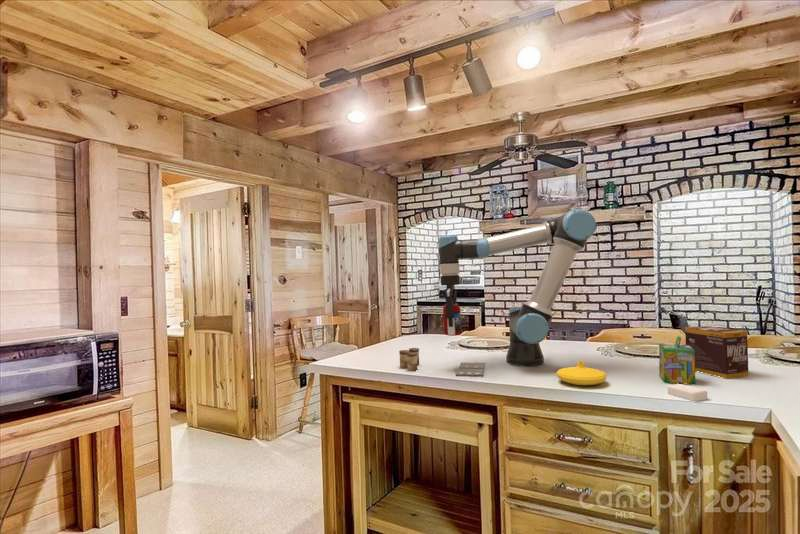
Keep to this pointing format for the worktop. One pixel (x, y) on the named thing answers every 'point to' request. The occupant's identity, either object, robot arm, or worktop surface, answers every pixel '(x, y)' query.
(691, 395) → the soap
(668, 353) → the chalk box
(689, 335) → the supplement box
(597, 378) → the yellow lidded dish
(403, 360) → the jar
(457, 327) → the beverage can
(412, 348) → the jar
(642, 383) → the worktop surface
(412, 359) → the jar
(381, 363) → the worktop surface
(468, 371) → the pad three
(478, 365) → the pad two
